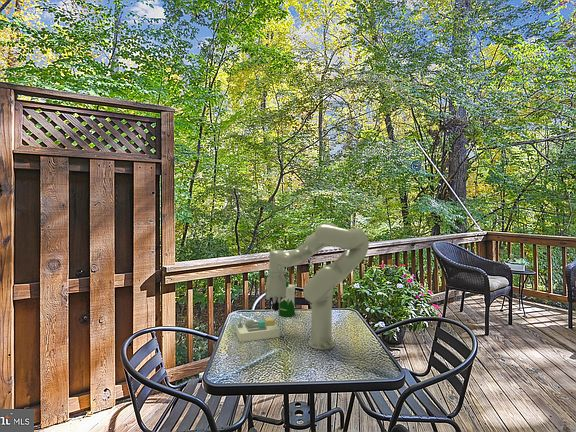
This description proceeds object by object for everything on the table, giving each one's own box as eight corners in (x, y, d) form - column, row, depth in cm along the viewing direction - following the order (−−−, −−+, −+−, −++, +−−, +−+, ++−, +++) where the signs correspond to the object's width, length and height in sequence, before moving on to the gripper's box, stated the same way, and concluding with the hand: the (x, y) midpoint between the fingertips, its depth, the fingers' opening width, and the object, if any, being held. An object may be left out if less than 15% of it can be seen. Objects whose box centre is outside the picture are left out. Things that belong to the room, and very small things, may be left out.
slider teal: (265, 329, 163) (265, 322, 163) (259, 329, 162) (259, 322, 162) (263, 327, 165) (263, 320, 165) (258, 327, 164) (258, 321, 164)
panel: (279, 336, 163) (279, 317, 163) (240, 342, 157) (239, 321, 156) (273, 328, 174) (273, 310, 174) (235, 333, 168) (235, 314, 168)
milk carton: (276, 315, 195) (276, 282, 195) (285, 311, 203) (284, 279, 203) (289, 318, 191) (289, 284, 190) (297, 314, 198) (297, 281, 198)
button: (274, 329, 169) (274, 320, 169) (266, 330, 167) (266, 321, 167) (272, 326, 173) (272, 317, 173) (264, 327, 171) (264, 318, 171)
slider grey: (253, 326, 166) (253, 320, 166) (247, 327, 165) (247, 320, 165) (252, 325, 169) (252, 318, 168) (246, 325, 168) (246, 318, 168)
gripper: (288, 272, 172) (287, 306, 172) (260, 273, 167) (259, 309, 167) (292, 275, 164) (291, 311, 165) (263, 276, 160) (263, 313, 160)
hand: (275, 310), depth 166 cm, fingers closed
